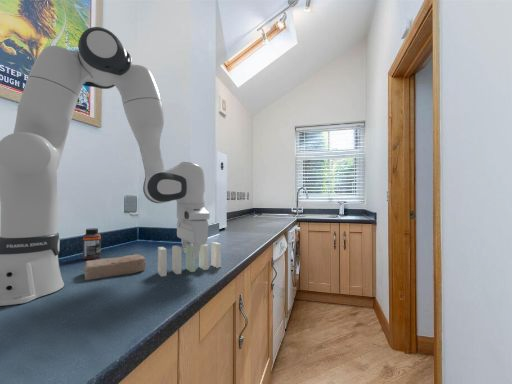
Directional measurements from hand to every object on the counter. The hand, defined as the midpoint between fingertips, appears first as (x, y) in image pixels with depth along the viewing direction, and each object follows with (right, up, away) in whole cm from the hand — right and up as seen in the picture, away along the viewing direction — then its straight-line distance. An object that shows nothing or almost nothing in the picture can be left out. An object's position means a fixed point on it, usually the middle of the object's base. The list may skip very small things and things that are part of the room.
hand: (190, 254), depth 89 cm
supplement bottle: (-42, -5, +16) cm, 45 cm away
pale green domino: (0, -5, 0) cm, 5 cm away
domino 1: (-8, -5, -5) cm, 10 cm away
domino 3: (+4, -5, +2) cm, 7 cm away
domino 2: (-4, -5, -2) cm, 7 cm away
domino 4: (+8, -5, +5) cm, 10 cm away
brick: (-23, -5, -3) cm, 24 cm away
